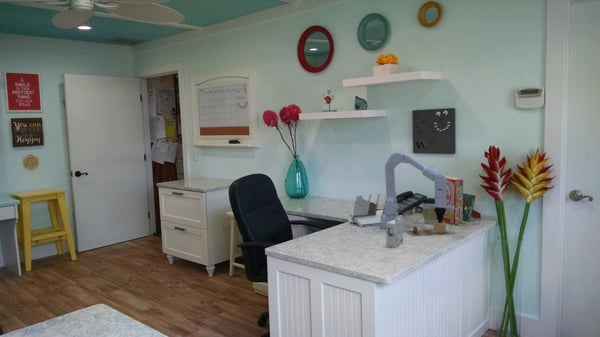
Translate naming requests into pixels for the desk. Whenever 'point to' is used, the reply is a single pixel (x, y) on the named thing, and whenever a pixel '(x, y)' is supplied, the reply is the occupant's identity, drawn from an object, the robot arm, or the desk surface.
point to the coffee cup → (428, 211)
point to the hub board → (424, 232)
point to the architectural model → (367, 212)
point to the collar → (439, 226)
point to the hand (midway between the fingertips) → (440, 221)
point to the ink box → (394, 232)
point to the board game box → (454, 200)
